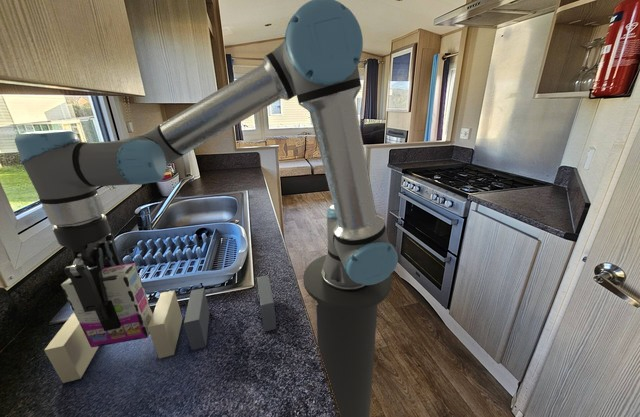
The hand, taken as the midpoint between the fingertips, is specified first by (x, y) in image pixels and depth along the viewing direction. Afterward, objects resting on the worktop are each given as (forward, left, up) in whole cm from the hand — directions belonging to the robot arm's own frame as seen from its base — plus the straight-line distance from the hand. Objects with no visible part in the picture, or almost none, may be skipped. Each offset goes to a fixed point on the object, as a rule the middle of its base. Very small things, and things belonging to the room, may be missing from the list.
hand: (118, 317), depth 56 cm
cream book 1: (+8, 0, -9) cm, 12 cm away
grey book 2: (-31, 0, -9) cm, 32 cm away
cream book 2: (-9, 0, -9) cm, 12 cm away
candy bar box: (0, 0, -5) cm, 5 cm away
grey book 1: (-15, 0, -9) cm, 17 cm away
